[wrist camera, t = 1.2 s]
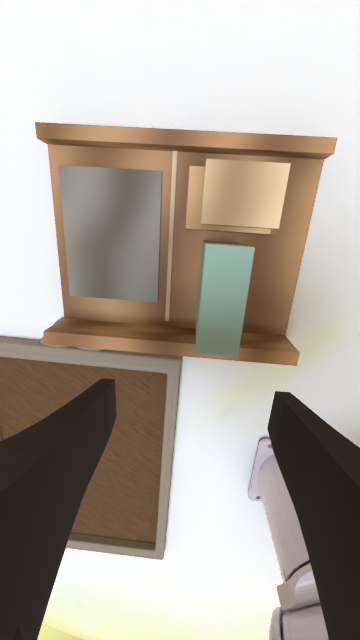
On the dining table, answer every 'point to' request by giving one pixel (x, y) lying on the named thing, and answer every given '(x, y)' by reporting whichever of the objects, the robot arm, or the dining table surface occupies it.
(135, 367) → the clipboard
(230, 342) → the rectangular block
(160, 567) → the dining table surface
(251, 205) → the offcut stack
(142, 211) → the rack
